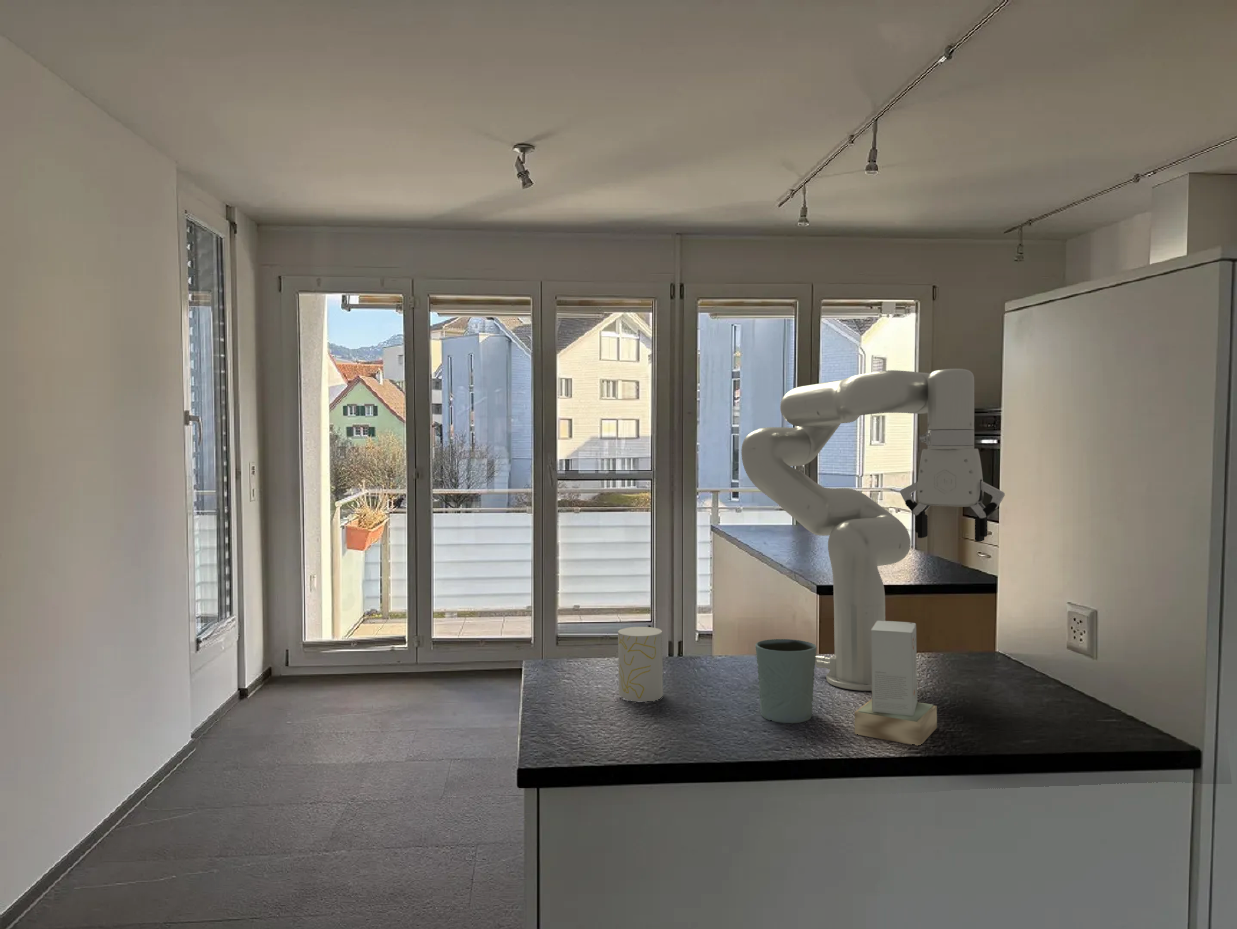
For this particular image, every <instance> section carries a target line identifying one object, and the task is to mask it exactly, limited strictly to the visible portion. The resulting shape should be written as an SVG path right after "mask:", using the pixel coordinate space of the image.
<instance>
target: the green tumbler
mask: <svg viewBox="0 0 1237 929" xmlns="http://www.w3.org/2000/svg"><path fill="white" fill-rule="evenodd" d="M754 646H755V653H756V654H755V656H756V663H757V679H758V693H759V694H758V695H759V708H760V714H761V716H762V718H764V719H765V720H768V721H770V720H772V721H771V722H774V723H775V722H776V723H779V724H780V723H781V724H782V723H783V724H798V723H803V722H807V721H809V720H811V718H812V715H813V699H814V687H815V686H814V684H815V667H816V664H815V659H816V656H817V645H816V644H815V643H813V642H810V641H804V640H801V639H800V640H799V639H788V638H776V639H775V638H773V639H764V640H760V641H758V642H756V643H755V645H754Z"/></svg>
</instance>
